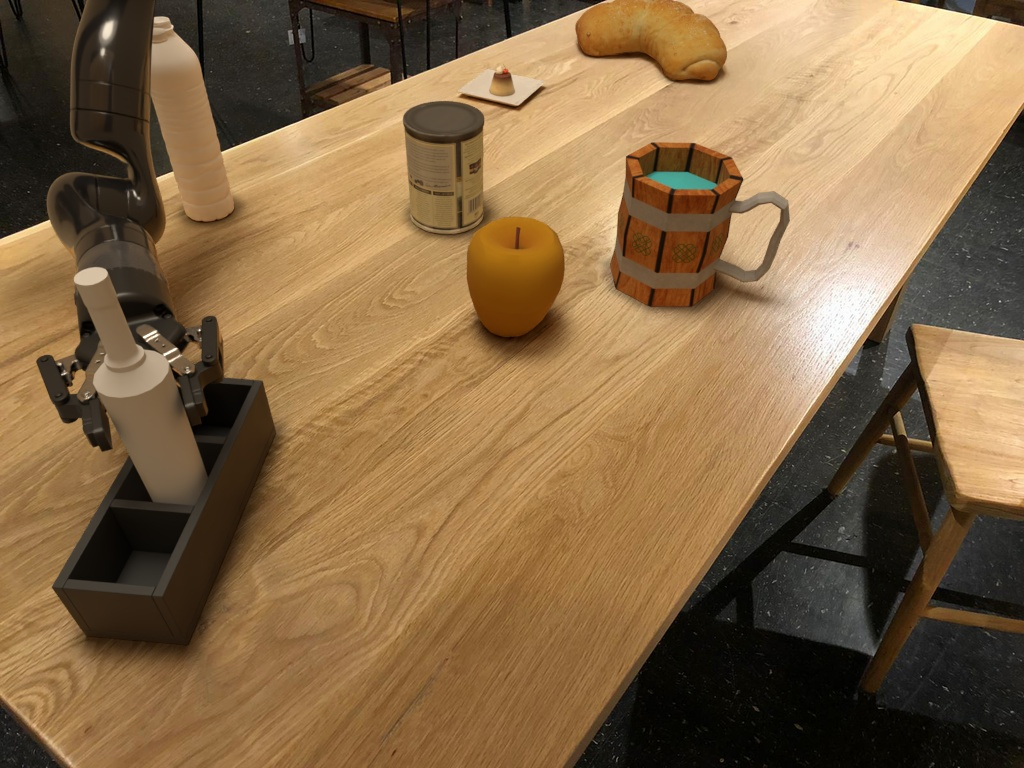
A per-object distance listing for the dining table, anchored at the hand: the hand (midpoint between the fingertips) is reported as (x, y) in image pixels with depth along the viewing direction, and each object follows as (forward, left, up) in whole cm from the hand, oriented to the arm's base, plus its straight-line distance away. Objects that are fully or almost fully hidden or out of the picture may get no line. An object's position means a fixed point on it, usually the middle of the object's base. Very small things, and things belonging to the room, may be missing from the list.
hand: (149, 429), depth 56 cm
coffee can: (+14, +56, -14) cm, 60 cm away
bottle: (-1, +2, -13) cm, 13 cm away
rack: (-1, +2, -14) cm, 14 cm away
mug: (+46, +44, -14) cm, 65 cm away
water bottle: (-18, +52, -14) cm, 57 cm away
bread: (+46, +122, -14) cm, 131 cm away
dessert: (+18, +99, -14) cm, 102 cm away
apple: (+25, +33, -14) cm, 44 cm away
